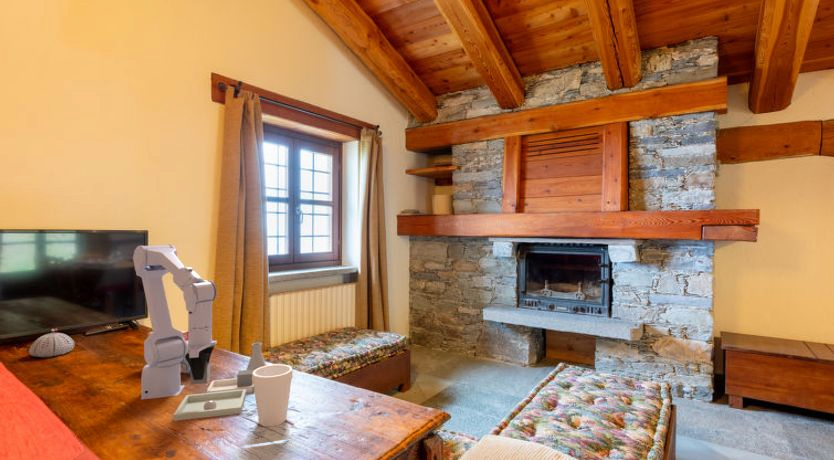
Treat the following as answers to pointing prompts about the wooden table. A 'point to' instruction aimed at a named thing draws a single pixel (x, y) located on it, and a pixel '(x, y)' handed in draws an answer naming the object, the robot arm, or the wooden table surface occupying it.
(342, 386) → the wooden table surface
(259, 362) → the flask
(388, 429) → the wooden table surface
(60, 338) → the sea urchin shell
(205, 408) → the pale pink ball
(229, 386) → the dish
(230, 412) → the bin
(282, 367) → the foam cup
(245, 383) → the grey cube
